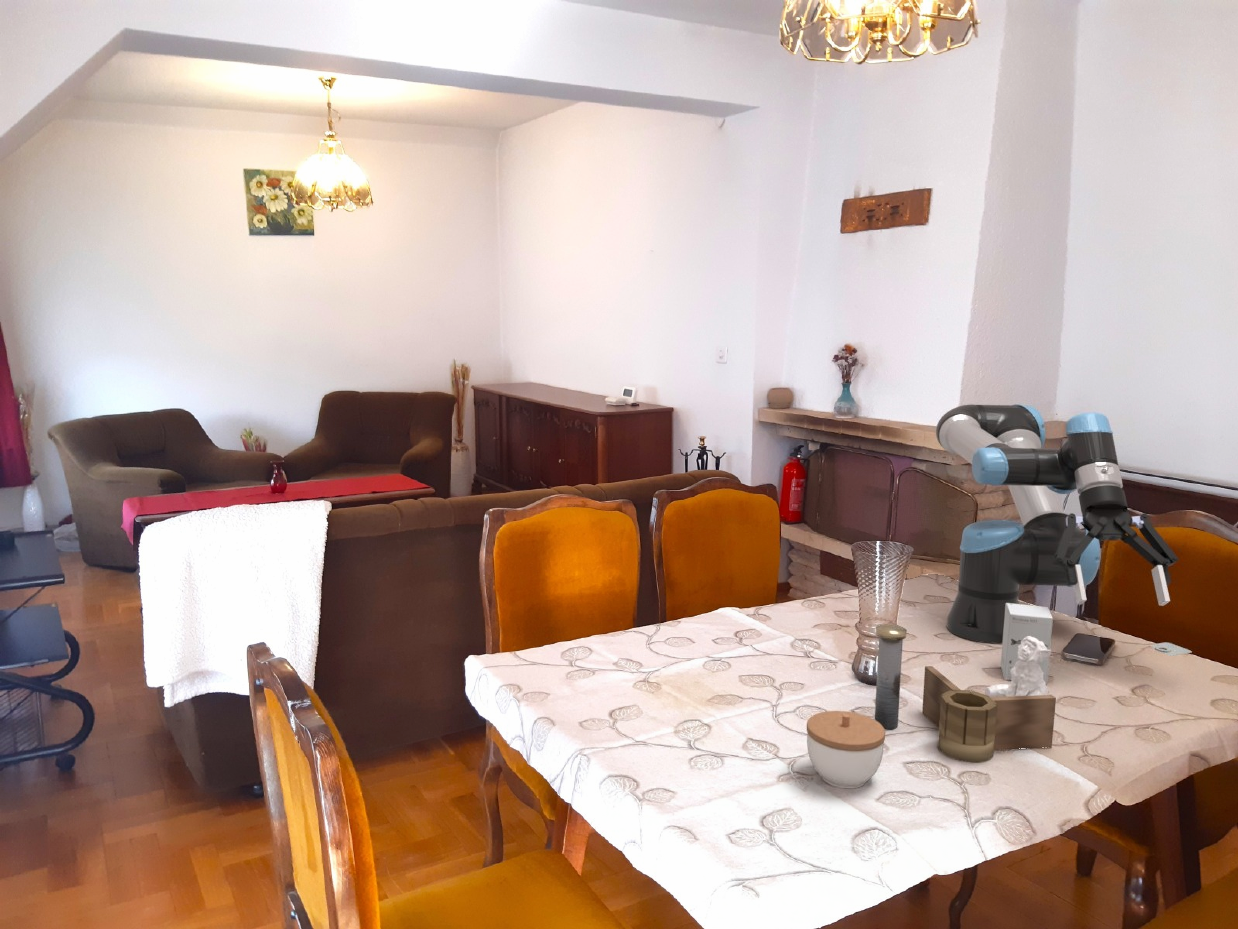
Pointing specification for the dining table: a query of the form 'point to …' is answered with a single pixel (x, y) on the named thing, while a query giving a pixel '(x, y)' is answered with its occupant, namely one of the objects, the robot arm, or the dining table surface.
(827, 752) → the lidded jar
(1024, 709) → the hinge
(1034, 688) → the sitting furry creature
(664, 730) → the dining table surface
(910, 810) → the dining table surface
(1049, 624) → the supplement box
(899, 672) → the hinge pin
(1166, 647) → the mounting bracket
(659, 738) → the dining table surface
